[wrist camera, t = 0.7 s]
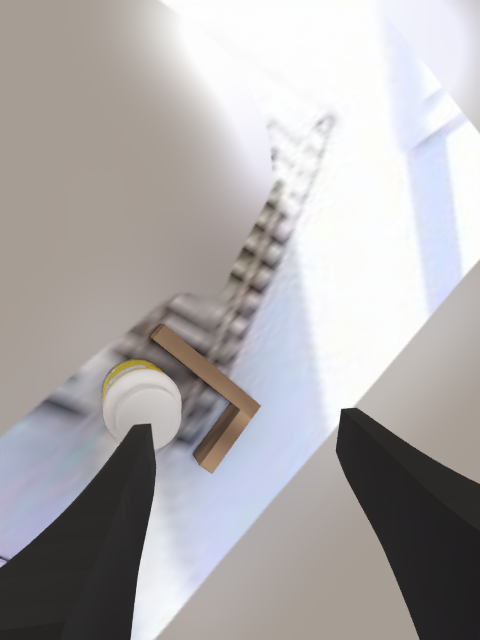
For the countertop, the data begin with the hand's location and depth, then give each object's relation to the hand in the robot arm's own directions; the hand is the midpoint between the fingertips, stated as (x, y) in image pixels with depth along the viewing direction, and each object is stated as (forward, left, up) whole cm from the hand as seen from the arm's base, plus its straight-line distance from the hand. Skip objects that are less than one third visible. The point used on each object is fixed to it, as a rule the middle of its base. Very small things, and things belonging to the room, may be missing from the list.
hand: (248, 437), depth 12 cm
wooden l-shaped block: (-1, -4, -19) cm, 20 cm away
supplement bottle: (-3, 0, -20) cm, 20 cm away
